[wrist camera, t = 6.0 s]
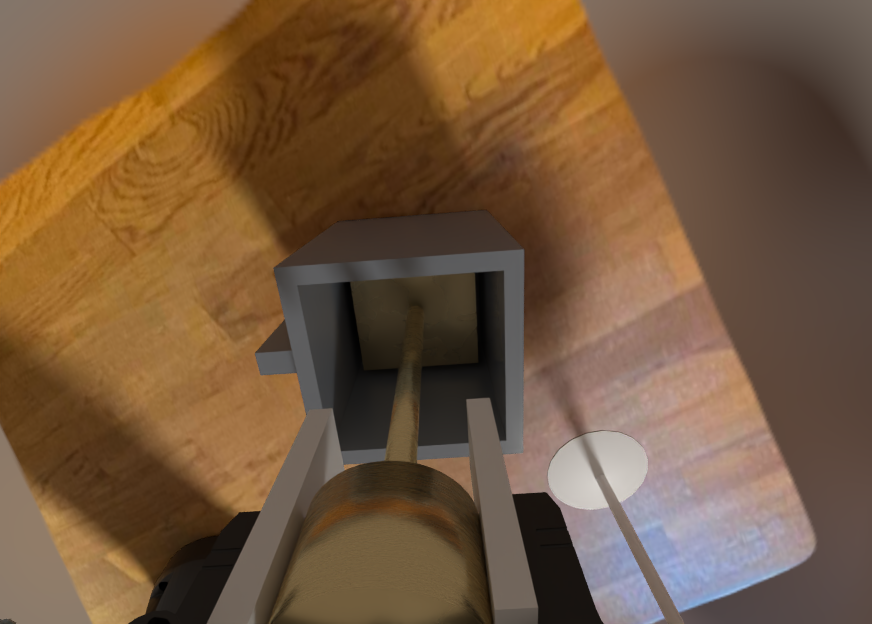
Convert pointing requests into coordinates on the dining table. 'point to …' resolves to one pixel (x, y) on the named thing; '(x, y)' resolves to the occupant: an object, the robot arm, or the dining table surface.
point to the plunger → (396, 484)
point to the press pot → (375, 389)
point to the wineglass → (608, 491)
